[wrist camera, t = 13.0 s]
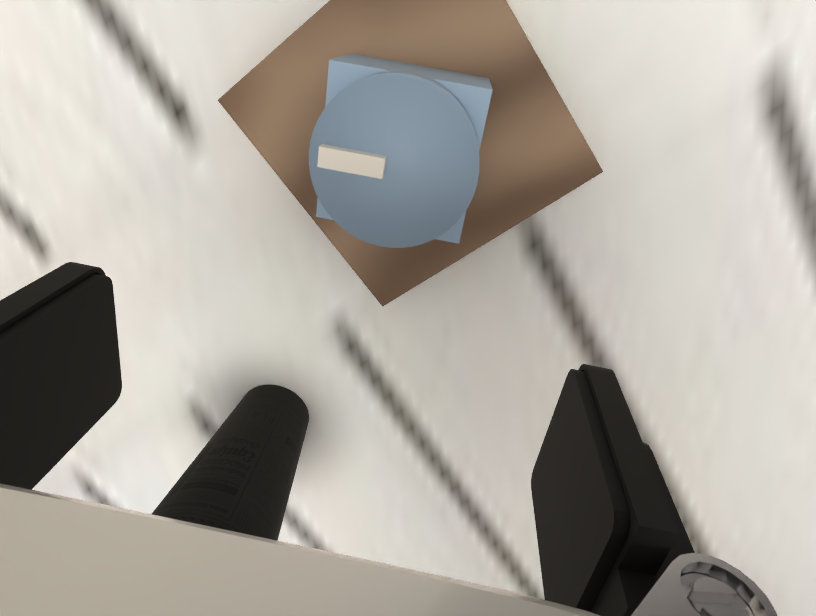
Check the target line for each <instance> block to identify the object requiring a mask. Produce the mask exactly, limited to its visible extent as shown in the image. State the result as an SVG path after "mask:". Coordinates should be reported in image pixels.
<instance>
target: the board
mask: <svg viewBox="0 0 816 616" xmlns="http://www.w3.org/2000/svg"><path fill="white" fill-rule="evenodd" d="M352 53H354V54H360V55H365V56H371V57H376V58H382V59H387V60H393V61H398V62H404V63H409V64H415V65H420V66H425V67H431V68H436V69H442V70H447V71H453V72H458V73H464V74H469V75H475V76H480V77H485V78H489V80H490V83H491V86H492V89H493V90H492V95H491V100H490V104H489V109H488V113H487V118H486V122H485V127H484V132H483V136H482V141H481V145H480V150H479V177H478V183H477V187H476V190H475V193H474V196H473V198H472V200H471V203H470V205H469V206H468V208H467V210H466V214H465V219H464V223H463V228H462V233H461V237H460V242H459V244H458V243H453V242H448V241H442V240H437V239H434V240H431V241H429V242H426V243H424V244H421V245H417V246H413V247H405V248H389V247H381V246H377V245H373V244H370V243H367V242H365V241H362V240H360V239H358V238H356V237H354V236H353V235H351V234H350V233H348V232H347V231H345V230H344V229H343V228H341V227H340V226H339V225H338V224H337V223H336V222H335V221H334V220H331V219H325V218H320V217H316V211H317V199H318V197H317V195H316V192H315V189H314V187H313V184H312V180H311V176H310V169H309V147H310V140H311V137H312V133H313V130H314V127H315V125H316V123H317V120H318V118H319V117H320V115H321V113H322V112H323V110H324V109H325V104H326V92H327V80H328V68H329V60H330V59H333V58H337V57H341V56H345V55H348V54H352ZM218 101H219V102H220V104H221V105H222V106H223V107H224V109H225V110H226V111H227V112H228V114H229V115H230V116H231V117H232V119H233V120H234V121H235V122H236V124H237V125H238V126H239V127H240V129H241V130H242V131H243V132H244V134H245V135H246V136H247V137H248V139H249V140H250V141H251V142H252V144H253V145H254V146H255V147H256V149H257V150H258V151H259V152H260V154H261V155H262V156H263V157H264V159H265V160H266V161H267V162H268V164H269V165H270V166H271V167H272V169H273V170H274V171H275V172H276V174H277V175H278V176H279V177H280V179H281V180H282V181H283V182H284V184H285V185H286V186H287V187H288V189H289V190H290V191H291V192H292V194H293V195H294V196H295V197H296V199H297V200H298V201H299V202H300V204H301V205H302V206H303V207H304V209H305V210H306V211H307V212H308V214H309V215H310V216H311V217H312V219H313V220H314V221H315V222H316V224H317V225H318V226H319V227H320V229H321V230H322V231H323V232H324V234H325V235H326V236H327V237H328V239H329V240H330V241H331V242H332V244H333V245H334V246H335V247H336V249H337V250H338V251H339V252H340V254H341V255H342V256H343V257H344V259H345V260H346V261H347V262H348V264H349V265H350V266H351V267H352V269H353V270H354V271H355V272H356V274H357V275H358V276H359V277H360V279H361V280H362V281H363V282H364V284H365V285H366V286H367V287H368V289H369V290H370V291H371V292H372V294H373V295H374V296H375V297H376V299H377V300H378V301H379V302H380V304H381V305H382V306H384V305H386V304H387V303H389V302H391V301H392V300H394V299H396V298H397V297H399V296H400V295H402V294H404V293H405V292H407V291H409V290H410V289H412V288H414V287H415V286H417V285H418V284H420V283H422V282H423V281H425V280H427V279H428V278H430V277H432V276H433V275H435V274H436V273H438V272H440V271H441V270H443V269H445V268H446V267H448V266H450V265H451V264H453V263H454V262H456V261H458V260H459V259H461V258H463V257H464V256H466V255H468V254H469V253H471V252H472V251H474V250H476V249H477V248H479V247H481V246H482V245H484V244H486V243H487V242H489V241H490V240H492V239H494V238H495V237H497V236H499V235H500V234H502V233H504V232H505V231H507V230H508V229H510V228H512V227H513V226H515V225H517V224H518V223H520V222H522V221H523V220H525V219H526V218H528V217H530V216H531V215H533V214H535V213H536V212H538V211H540V210H541V209H543V208H544V207H546V206H548V205H549V204H551V203H553V202H554V201H556V200H558V199H559V198H561V197H562V196H564V195H566V194H567V193H569V192H571V191H572V190H574V189H576V188H577V187H579V186H580V185H582V184H584V183H585V182H587V181H589V180H590V179H592V178H594V177H595V176H597V175H598V174H600V173H602V172H603V170H602V169H601V167H600V165H599V163H598V162H597V160H596V158H595V156H594V155H593V153H592V151H591V149H590V148H589V146H588V144H587V142H586V141H585V139H584V137H583V135H582V134H581V132H580V130H579V128H578V127H577V125H576V123H575V121H574V119H573V118H572V116H571V114H570V112H569V111H568V109H567V107H566V105H565V104H564V102H563V100H562V98H561V97H560V95H559V93H558V91H557V90H556V88H555V86H554V84H553V83H552V81H551V79H550V77H549V76H548V74H547V72H546V70H545V68H544V67H543V65H542V63H541V61H540V60H539V58H538V56H537V54H536V53H535V51H534V49H533V47H532V46H531V44H530V42H529V40H528V39H527V37H526V35H525V33H524V32H523V30H522V28H521V26H520V25H519V23H518V21H517V19H516V17H515V16H514V14H513V12H512V10H511V9H510V7H509V5H508V3H507V2H506V0H330V1H329V2H328V3H327V4H325V5H324V6H323V7H322V8H321V9H320V10H319V11H318V12H316V13H315V14H314V15H313V16H312V17H311V18H310V19H309V20H307V21H306V22H305V23H304V24H303V25H302V26H301V27H300V28H298V29H297V30H296V31H295V32H294V33H293V34H292V35H291V36H289V37H288V38H287V39H286V40H285V41H284V42H283V43H282V44H280V45H279V46H278V47H277V48H276V49H275V50H274V51H273V52H271V53H270V54H269V55H268V56H267V57H266V58H265V59H264V60H262V61H261V62H260V63H259V64H258V65H257V66H256V67H255V68H253V69H252V70H251V71H250V72H249V73H248V74H247V75H246V76H244V77H243V78H242V79H241V80H240V81H239V82H238V83H237V84H235V85H234V86H233V87H232V88H231V89H230V90H229V91H228V92H226V93H225V94H224V95H223V96H222V97H221V98H220V99H219V100H218Z"/></svg>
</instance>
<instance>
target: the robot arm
mask: <svg viewBox="0 0 816 616" xmlns="http://www.w3.org/2000/svg"><path fill="white" fill-rule="evenodd" d="M121 389H122V380H121V369H120V358H119V348H118V337H117V326H116V315H115V305H114V294H113V284H112V281H111V279H110V278H109V277H108V276H106V275H105V273H104V271H103V270H102V269H101V268H99V267H94V266H89V265H84V264H79V263H74V262H69V263H66V264H64V265H62V266H60V267H59V268H57V269H55V270H53V271H52V272H50V273H48V274H46V275H45V276H43V277H41V278H39V279H38V280H36V281H34V282H32V283H30V284H29V285H27V286H25V287H23V288H22V289H20V290H18V291H16V292H15V293H13V294H11V295H9V296H8V297H6V298H4V299H2V300H1V301H0V616H777V614H776V611H775V610H774V608H773V606H772V604H771V603H770V601H769V599H768V598H767V596H766V595H765V594H764V593H763V592H762V591H761V590H760V588H759V587H758V586H757V585H756V584H755V583H754V582H753V581H752V580H751V579H749V578H748V577H747V576H746V575H744V574H743V573H742V572H741V571H740V570H738V569H736V568H735V567H733V566H731V565H729V564H728V563H726V562H724V561H722V560H720V559H717V558H714V557H712V556H709V555H705V554H698V553H695V552H694V550H693V547H692V545H691V543H690V540H689V538H688V536H687V533H686V531H685V528H684V526H683V524H682V521H681V519H680V516H679V514H678V512H677V509H676V507H675V505H674V502H673V500H672V497H671V495H670V493H669V490H668V488H667V486H666V483H665V481H664V478H663V476H662V474H661V471H660V469H659V466H658V464H657V462H656V459H655V457H654V455H653V452H652V450H651V449H650V447H649V445H647V444H645V443H643V442H642V440H641V437H640V435H639V432H638V430H637V428H636V425H635V423H634V420H633V418H632V415H631V413H630V410H629V408H628V405H627V403H626V400H625V398H624V395H623V393H622V391H621V388H620V386H619V383H618V381H617V378H616V376H615V373H614V372H613V370H611V369H606V368H601V367H596V366H591V365H586V364H583V365H581V366H580V368H579V370H574V369H571V370H570V371H569V373H568V375H567V378H566V380H565V383H564V386H563V389H562V391H561V394H560V397H559V400H558V403H557V405H556V408H555V411H554V414H553V416H552V419H551V422H550V425H549V427H548V430H547V433H546V436H545V439H544V441H543V444H542V447H541V450H540V452H539V455H538V458H537V461H536V463H535V466H534V469H533V473H532V479H531V490H532V498H533V506H534V514H535V522H536V531H537V539H538V547H539V555H540V563H541V572H542V580H543V588H544V596H545V600H543V599H539V598H535V597H531V596H527V595H523V594H519V593H515V592H511V591H507V590H503V589H498V588H493V587H489V586H484V585H479V584H474V583H470V582H466V581H461V580H457V579H453V578H448V577H444V576H440V575H435V574H430V573H426V572H421V571H416V570H412V569H407V568H402V567H398V566H393V565H388V564H384V563H379V562H374V561H370V560H365V559H361V558H356V557H351V556H347V555H342V554H337V553H333V552H328V551H323V550H319V549H314V548H309V547H305V546H300V545H295V544H291V543H286V542H281V541H276V540H272V539H267V538H262V537H257V536H253V535H248V534H243V533H238V532H234V531H229V530H224V529H219V528H214V527H210V526H205V525H200V524H195V523H191V522H186V521H181V520H176V519H171V518H166V517H162V516H157V515H152V514H147V513H142V512H138V511H133V510H128V509H123V508H118V507H113V506H109V505H104V504H99V503H94V502H89V501H84V500H79V499H74V498H69V497H64V496H59V495H54V494H49V493H44V492H40V491H35V490H32V489H33V488H34V486H35V485H36V484H37V483H38V482H39V481H40V480H41V479H42V478H43V477H44V476H45V475H46V474H47V473H48V472H49V471H50V470H51V469H52V468H53V467H54V466H55V465H56V464H57V463H58V462H59V461H60V460H61V459H62V458H63V457H64V455H65V454H66V453H67V452H68V451H69V450H70V449H71V448H72V447H73V446H74V445H75V444H76V443H77V442H78V441H79V440H80V439H81V438H82V437H83V436H84V435H85V434H86V433H87V432H88V431H89V430H90V429H91V428H92V427H93V425H94V424H95V423H96V422H97V421H98V420H99V419H100V418H101V417H102V416H103V415H104V414H105V413H106V412H107V411H108V410H109V409H110V408H111V407H112V406H113V405H114V404H115V403H116V401H117V400H118V398H119V396H120V393H121Z"/></svg>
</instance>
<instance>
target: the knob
mask: <svg viewBox="0 0 816 616" xmlns="http://www.w3.org/2000/svg"><path fill="white" fill-rule="evenodd" d="M492 90H493V89H492V86H491V83H490V80H489V78H485V77H480V76H475V75H469V74H464V73H458V72H453V71H447V70H442V69H436V68H431V67H425V66H420V65H415V64H409V63H404V62H398V61H393V60H387V59H382V58H376V57H371V56H365V55H360V54H354V53H352V54H348V55H345V56H341V57H337V58H333V59H330V60H329V68H328V80H327V92H326V104H325V109H324V110H323V112H322V113H321V115H320V117H319V118H318V120H317V123H316V125H315V127H314V130H313V133H312V137H311V140H310V147H309V169H310V176H311V180H312V184H313V187H314V189H315V192H316V195H317V197H318V199H317V211H316V217H320V218H325V219H331V220H334V221H335V222H336V223H337V224H338V225H339V226H340V227H341V228H343V229H344V230H345V231H347V232H348V233H350V234H351V235H353V236H354V237H356V238H358V239H360V240H362V241H365V242H367V243H370V244H373V245H377V246H381V247H389V248H405V247H413V246H417V245H421V244H424V243H426V242H429V241H431V240H434V239H437V240H442V241H448V242H453V243H458V244H459V242H460V237H461V233H462V228H463V223H464V219H465V214H466V210H467V208H468V206H469V205H470V203H471V200H472V198H473V196H474V193H475V190H476V187H477V183H478V177H479V150H480V145H481V141H482V136H483V132H484V127H485V122H486V118H487V113H488V109H489V104H490V100H491V95H492Z"/></svg>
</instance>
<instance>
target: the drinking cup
mask: <svg viewBox="0 0 816 616" xmlns="http://www.w3.org/2000/svg"><path fill="white" fill-rule="evenodd" d="M308 422H309V414H308V410H307V408H306V406H305V404H304V402H303V401H302V400H301V399H300V398H299V397H298V396H297V395H296V394H295V393H293V392H292V391H290V390H288V389H286V388H283V387H280V386H275V385H263V386H259V387H256V388H254V389H252V390H250V391H249V392H248V393H247V394H246V395H245V396H244V398H243V399H242V400H241V401H240V403H239V404H238V405H237V407H236V408H235V409H234V410H233V412H232V413H231V414H230V415H229V417H228V418H227V419H226V420H225V422H224V423H223V424H222V426H221V427H220V428H219V429H218V431H217V432H216V433H215V434H214V436H213V437H212V438H211V439H210V441H209V442H208V443H207V445H206V446H205V447H204V448H203V450H202V451H201V452H200V453H199V455H198V456H197V457H196V458H195V460H194V461H193V462H192V464H191V465H190V466H189V467H188V469H187V470H186V471H185V472H184V474H183V475H182V476H181V477H180V479H179V480H178V481H177V483H176V484H175V485H174V486H173V488H172V489H171V490H170V491H169V493H168V494H167V495H166V496H165V498H164V499H163V500H162V502H161V503H160V504H159V505H158V507H157V508H156V509H155V510H154V512H153V513H152V515H157V516H162V517H166V518H171V519H176V520H181V521H186V522H191V523H195V524H200V525H205V526H210V527H214V528H219V529H224V530H229V531H234V532H238V533H243V534H248V535H253V536H257V537H262V538H267V539H272V540H276V541H277V540H278V536H279V532H280V529H281V525H282V521H283V517H284V513H285V510H286V506H287V502H288V498H289V494H290V491H291V487H292V483H293V479H294V475H295V472H296V468H297V464H298V460H299V456H300V453H301V449H302V445H303V441H304V437H305V434H306V430H307V426H308Z"/></svg>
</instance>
